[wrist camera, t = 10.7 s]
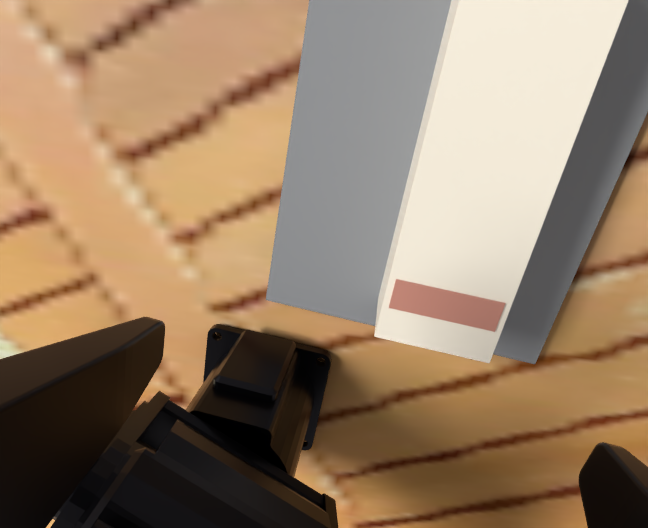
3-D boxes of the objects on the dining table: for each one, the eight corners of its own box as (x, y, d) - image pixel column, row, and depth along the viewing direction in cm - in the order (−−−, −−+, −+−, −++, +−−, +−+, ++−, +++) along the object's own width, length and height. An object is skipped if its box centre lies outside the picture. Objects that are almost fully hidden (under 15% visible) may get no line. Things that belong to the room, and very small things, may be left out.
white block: (475, 319, 20) (489, 364, 17) (378, 297, 21) (374, 337, 17) (601, -41, 15) (659, -77, 12) (466, -62, 15) (485, -103, 12)
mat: (531, 357, 21) (535, 364, 21) (269, 294, 22) (265, 299, 22) (718, -70, 15) (731, -76, 14) (332, -132, 15) (329, -140, 15)
